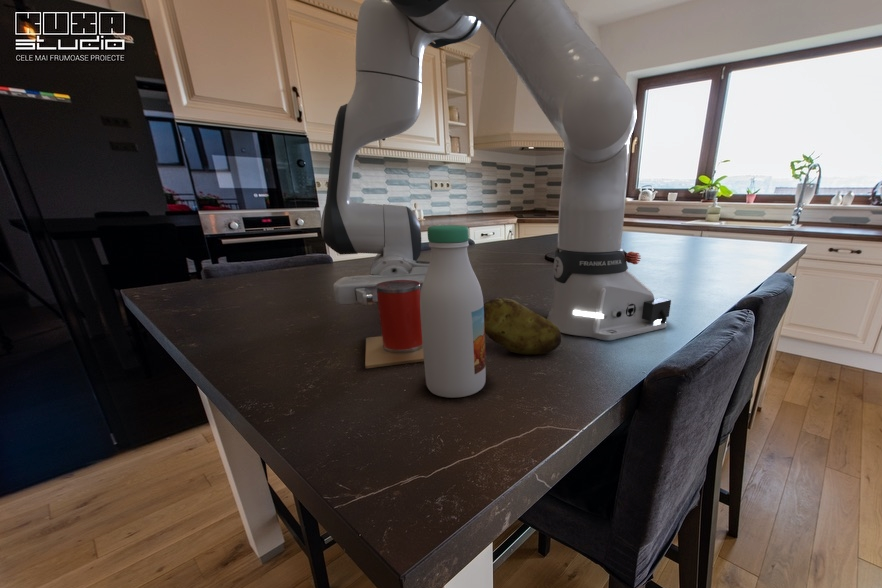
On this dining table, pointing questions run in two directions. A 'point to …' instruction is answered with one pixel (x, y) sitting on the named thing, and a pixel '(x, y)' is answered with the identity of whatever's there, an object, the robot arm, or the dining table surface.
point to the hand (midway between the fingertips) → (399, 298)
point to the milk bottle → (452, 316)
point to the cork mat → (387, 355)
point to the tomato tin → (400, 315)
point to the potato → (519, 328)
